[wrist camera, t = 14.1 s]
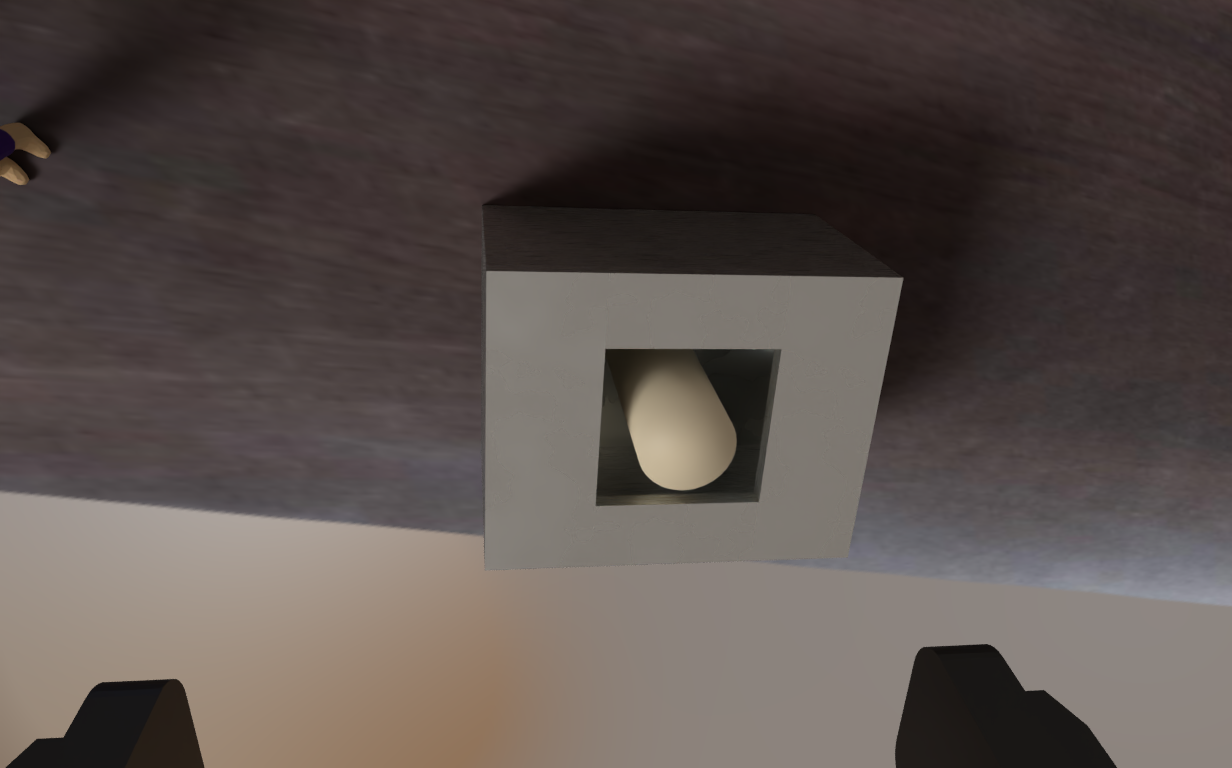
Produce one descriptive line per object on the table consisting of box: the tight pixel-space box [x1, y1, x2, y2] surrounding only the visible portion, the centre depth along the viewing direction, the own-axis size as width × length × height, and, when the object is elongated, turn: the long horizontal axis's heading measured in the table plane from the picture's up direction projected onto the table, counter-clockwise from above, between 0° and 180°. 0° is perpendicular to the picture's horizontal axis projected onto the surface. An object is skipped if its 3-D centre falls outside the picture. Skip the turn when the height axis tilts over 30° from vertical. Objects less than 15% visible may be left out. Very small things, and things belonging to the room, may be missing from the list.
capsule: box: [605, 349, 737, 490], centre depth 41 cm, size 4×4×10 cm
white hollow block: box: [481, 205, 903, 570], centre depth 41 cm, size 16×13×10 cm
